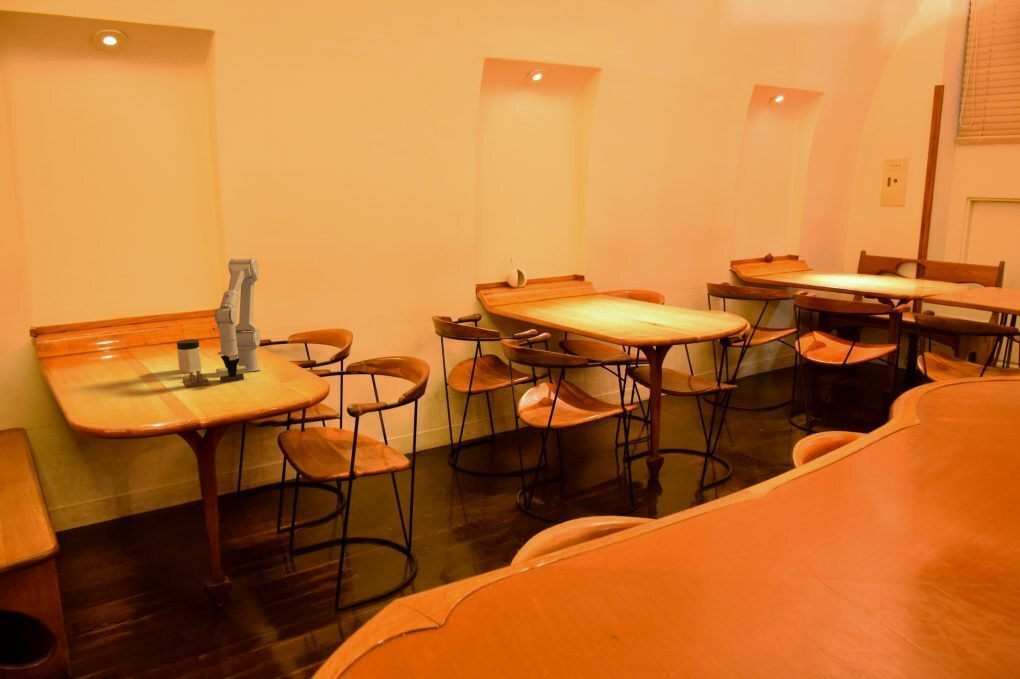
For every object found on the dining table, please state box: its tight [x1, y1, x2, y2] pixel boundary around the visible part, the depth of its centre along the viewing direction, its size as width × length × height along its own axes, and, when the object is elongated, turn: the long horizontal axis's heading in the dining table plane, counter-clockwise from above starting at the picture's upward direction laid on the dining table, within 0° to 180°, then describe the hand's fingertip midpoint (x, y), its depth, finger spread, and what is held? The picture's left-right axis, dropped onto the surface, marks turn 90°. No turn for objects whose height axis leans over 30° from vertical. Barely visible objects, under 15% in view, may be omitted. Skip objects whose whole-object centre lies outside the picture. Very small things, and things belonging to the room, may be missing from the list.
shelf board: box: [215, 365, 247, 378], centre depth 276 cm, size 10×4×2 cm, turn 118°
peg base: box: [182, 371, 211, 389], centre depth 274 cm, size 14×8×3 cm, turn 29°
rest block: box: [219, 374, 245, 383], centre depth 276 cm, size 3×8×2 cm, turn 119°
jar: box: [176, 338, 203, 374], centre depth 291 cm, size 9×8×12 cm
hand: (231, 375), depth 276 cm, fingers closed on shelf board, 4 cm apart
